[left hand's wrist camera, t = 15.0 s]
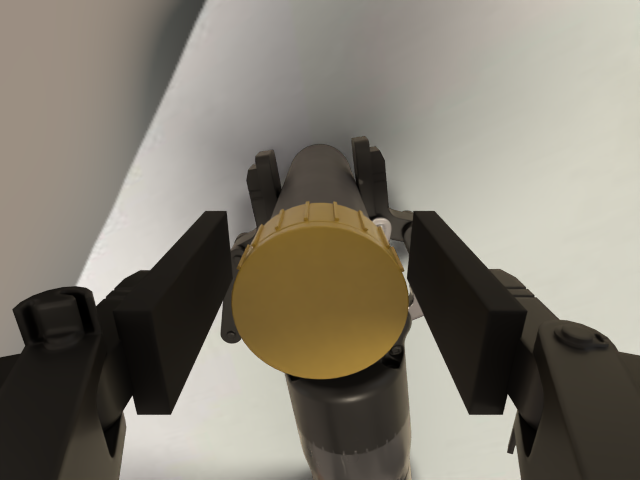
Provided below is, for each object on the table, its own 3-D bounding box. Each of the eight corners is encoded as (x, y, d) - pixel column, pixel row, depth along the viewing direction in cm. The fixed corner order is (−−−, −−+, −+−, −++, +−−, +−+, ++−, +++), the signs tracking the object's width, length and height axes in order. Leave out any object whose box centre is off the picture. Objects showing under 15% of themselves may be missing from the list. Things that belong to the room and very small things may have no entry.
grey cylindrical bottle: (363, 174, 25) (422, 293, 11) (320, 216, 26) (322, 376, 12) (318, 130, 24) (317, 195, 10) (277, 176, 25) (217, 297, 11)
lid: (327, 164, 11) (328, 182, 9) (427, 279, 12) (448, 316, 10) (211, 267, 12) (190, 302, 10) (314, 360, 13) (313, 407, 11)
